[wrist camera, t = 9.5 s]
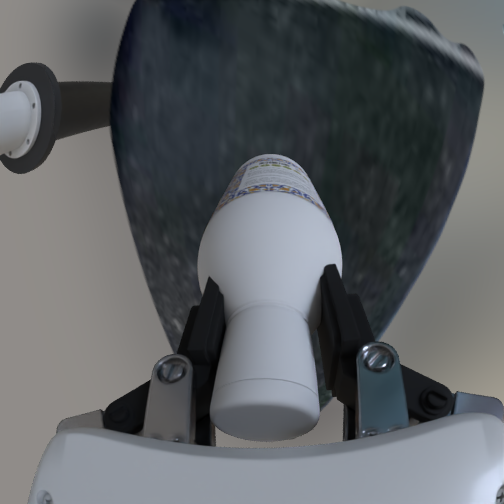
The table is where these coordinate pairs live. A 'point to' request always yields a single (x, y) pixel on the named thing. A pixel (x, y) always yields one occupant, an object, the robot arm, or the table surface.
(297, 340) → the bath foam
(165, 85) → the table surface
